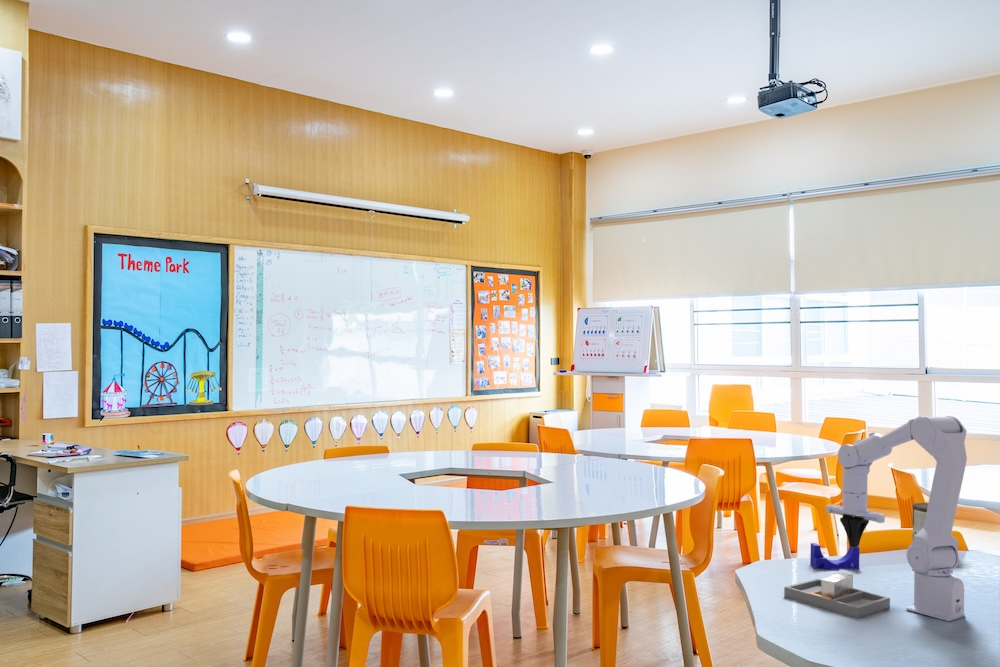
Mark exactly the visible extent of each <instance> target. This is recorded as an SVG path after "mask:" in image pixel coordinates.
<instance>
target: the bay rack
mask: <svg viewBox="0 0 1000 667" xmlns="http://www.w3.org/2000/svg"><path fill="white" fill-rule="evenodd" d="M821 582H822V579H819V578H814V579H811V580H810V579H809V580H805V581H802V582H798V583H794V584H791V585H787V586H784V589H783V590H784V591H783V593H784V594H783V595H784V597H785V598H788V599H791V600H796V601H799V602H803V603H805V602H806V603H807V604H810V605H812V606H816V607H819V608H822V607H823V609H825V608H826V610H829V611H833V612H835V613H839V614H843V615H846V616H848V617H849V616H850V617H853V618H856V619H859V618H862V617H865V616H868V615H871V614H875V613H878V612H881V611H883V610H887V609H890V607H891V604H890V603H891V598H890V597H887V596H884V595H880V594H877V593H873V592H869V591H866V590H861V589H857V588H854V587H853V593H852V594H849V595H845V596H842V597H838V598H835V599H832V598H829V597H825V596H822V595H821ZM806 603H805V604H806Z"/></svg>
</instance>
